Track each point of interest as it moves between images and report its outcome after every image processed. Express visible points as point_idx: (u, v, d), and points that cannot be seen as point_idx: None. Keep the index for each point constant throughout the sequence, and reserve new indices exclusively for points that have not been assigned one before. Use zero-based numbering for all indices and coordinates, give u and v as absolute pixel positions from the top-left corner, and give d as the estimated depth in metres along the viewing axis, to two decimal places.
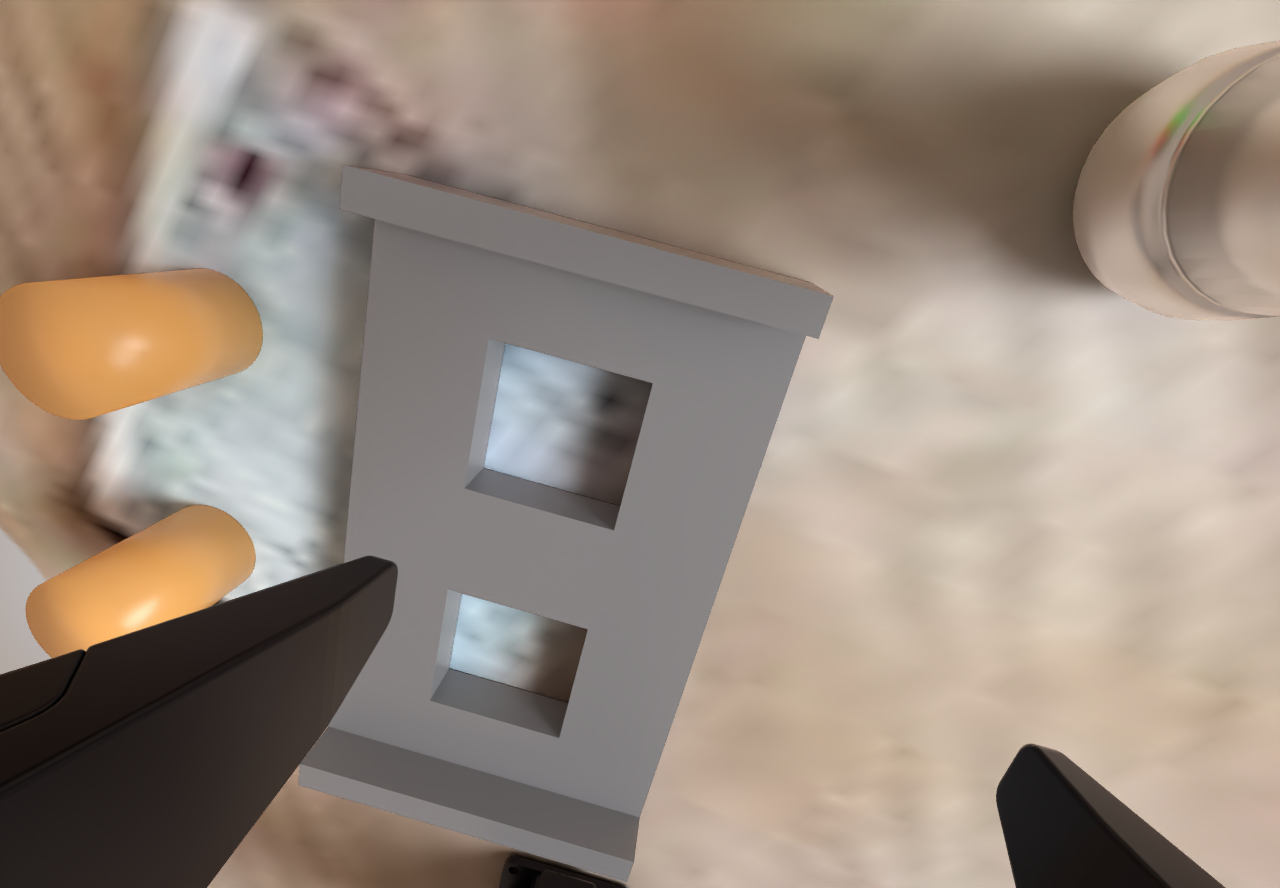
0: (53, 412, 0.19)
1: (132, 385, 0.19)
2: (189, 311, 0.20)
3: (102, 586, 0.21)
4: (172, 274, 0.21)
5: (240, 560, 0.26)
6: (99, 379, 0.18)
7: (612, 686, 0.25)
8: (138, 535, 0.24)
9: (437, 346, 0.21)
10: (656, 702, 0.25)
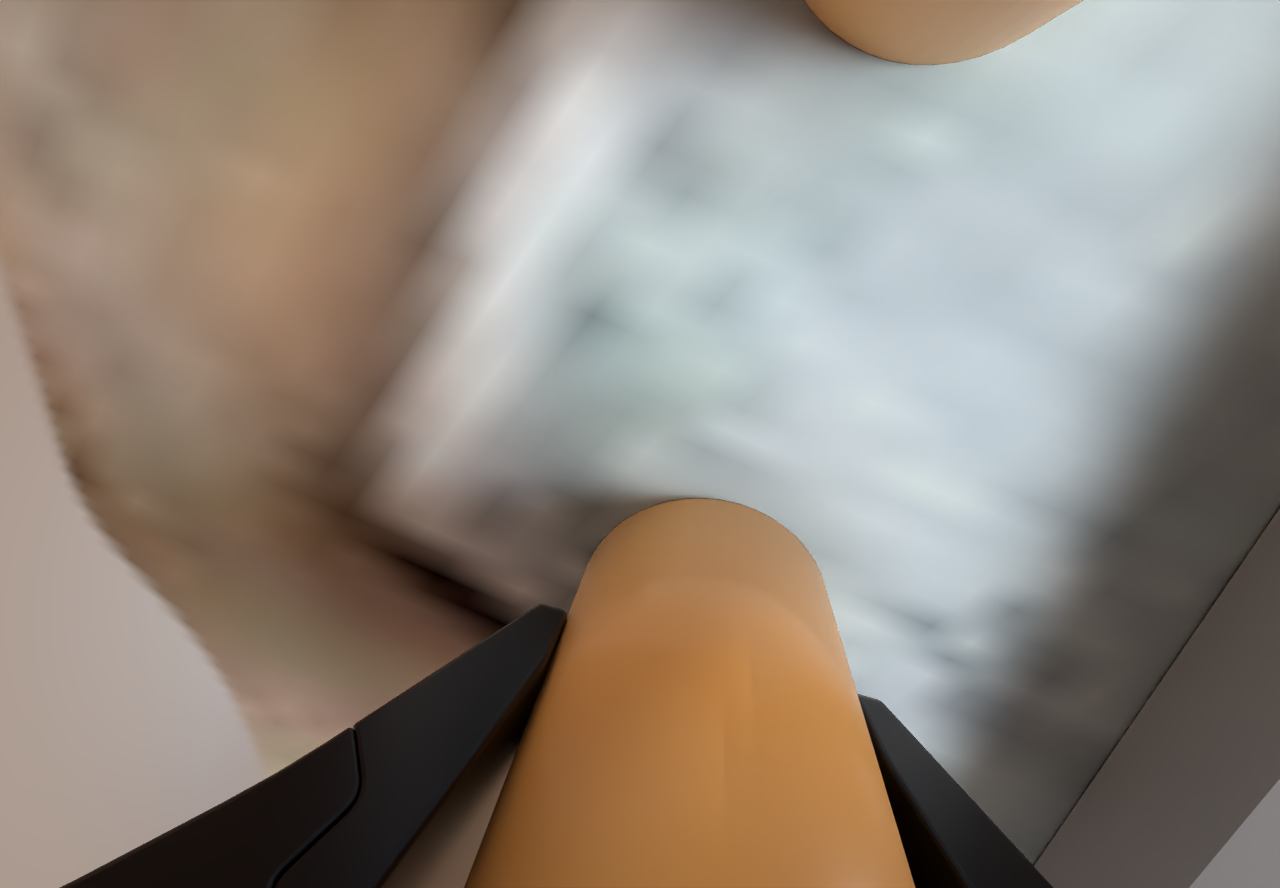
0: None
1: None
2: None
3: None
4: None
5: None
6: None
7: None
8: (672, 601, 0.07)
9: None
10: None
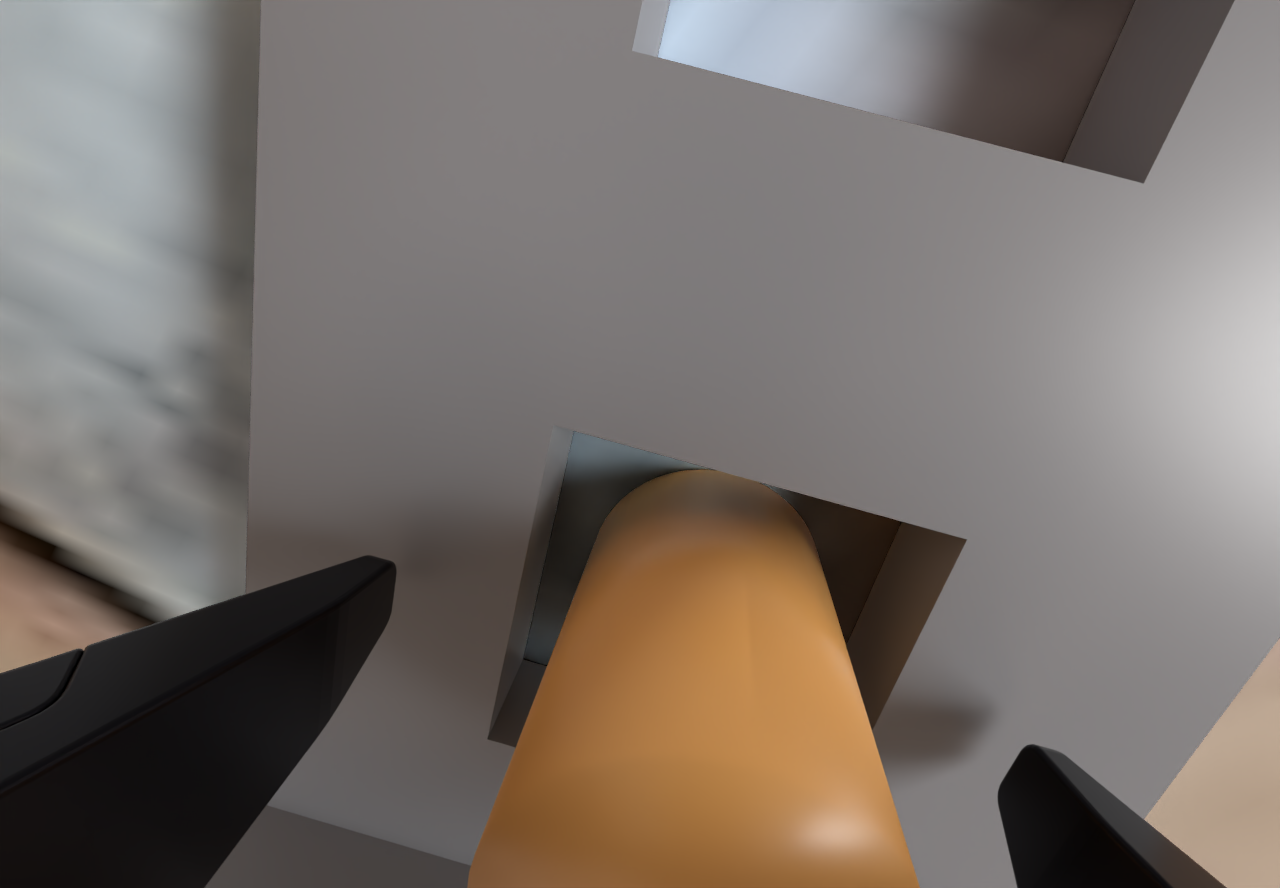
0: None
1: None
2: None
3: (835, 778, 0.05)
4: None
5: None
6: None
7: (1004, 704, 0.09)
8: (678, 551, 0.08)
9: None
10: (1125, 748, 0.09)
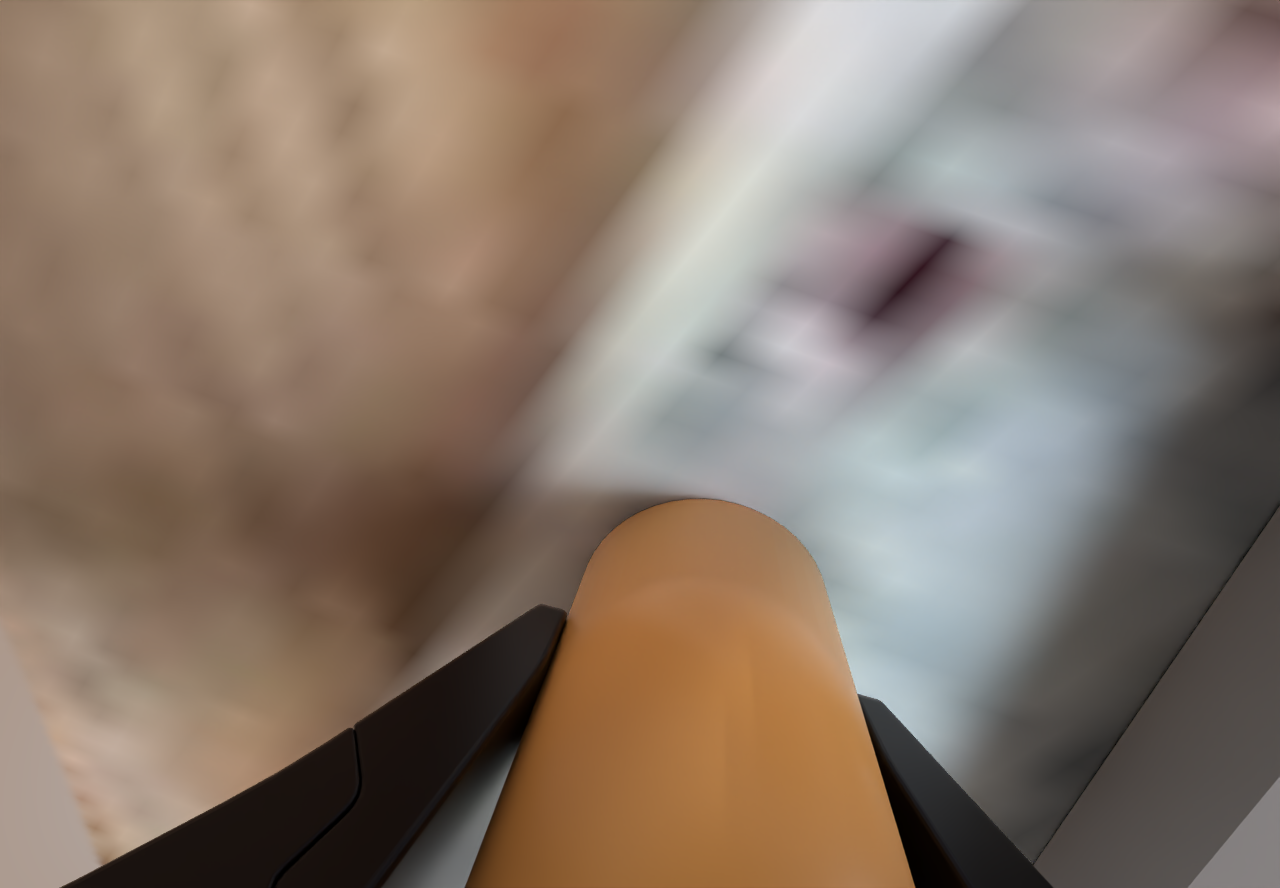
0: None
1: None
2: None
3: None
4: (747, 570, 0.08)
5: None
6: None
7: None
8: None
9: None
10: None
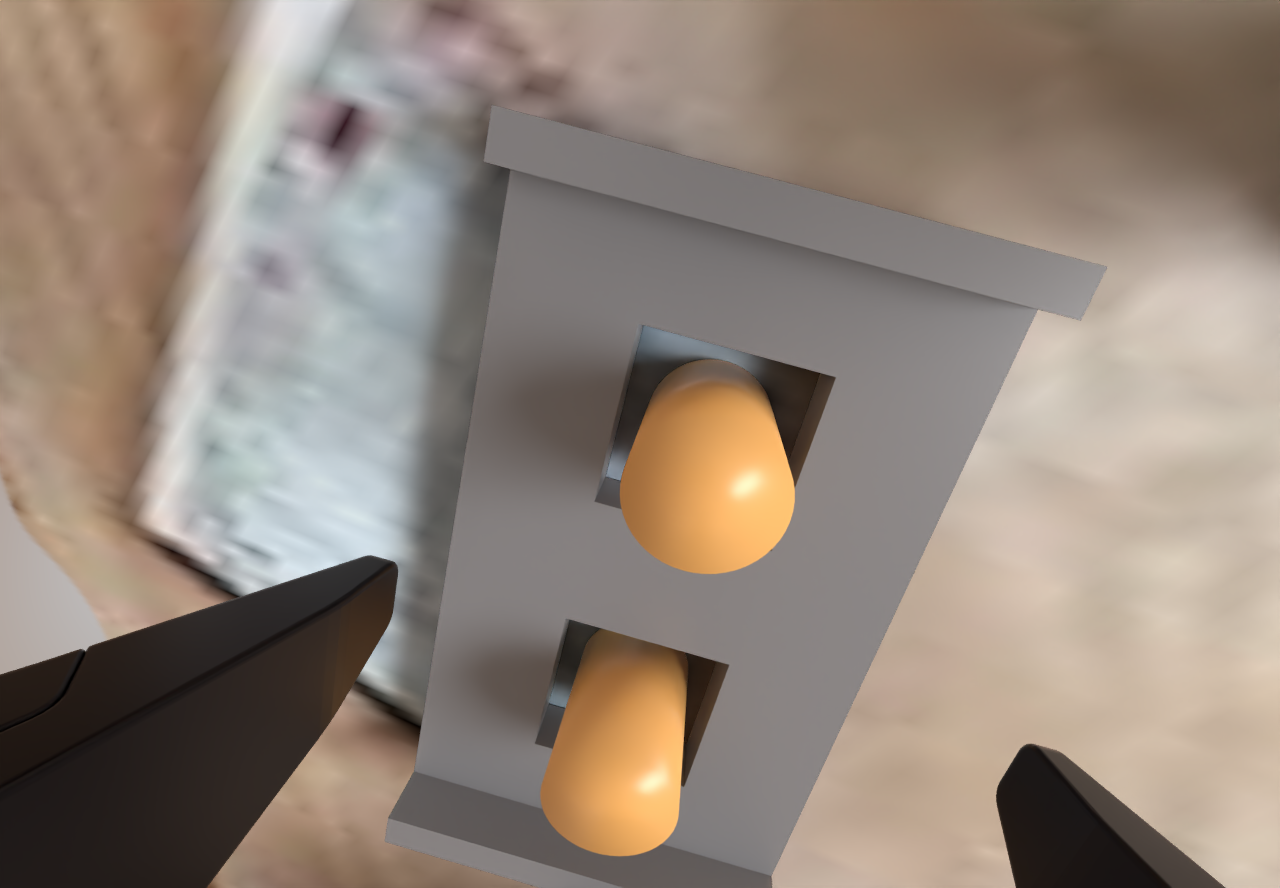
0: (672, 564, 0.15)
1: None
2: (776, 425, 0.17)
3: (648, 755, 0.17)
4: (730, 376, 0.18)
5: None
6: (756, 529, 0.14)
7: (753, 729, 0.21)
8: (614, 670, 0.20)
9: (574, 333, 0.17)
10: (803, 747, 0.21)
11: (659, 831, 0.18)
